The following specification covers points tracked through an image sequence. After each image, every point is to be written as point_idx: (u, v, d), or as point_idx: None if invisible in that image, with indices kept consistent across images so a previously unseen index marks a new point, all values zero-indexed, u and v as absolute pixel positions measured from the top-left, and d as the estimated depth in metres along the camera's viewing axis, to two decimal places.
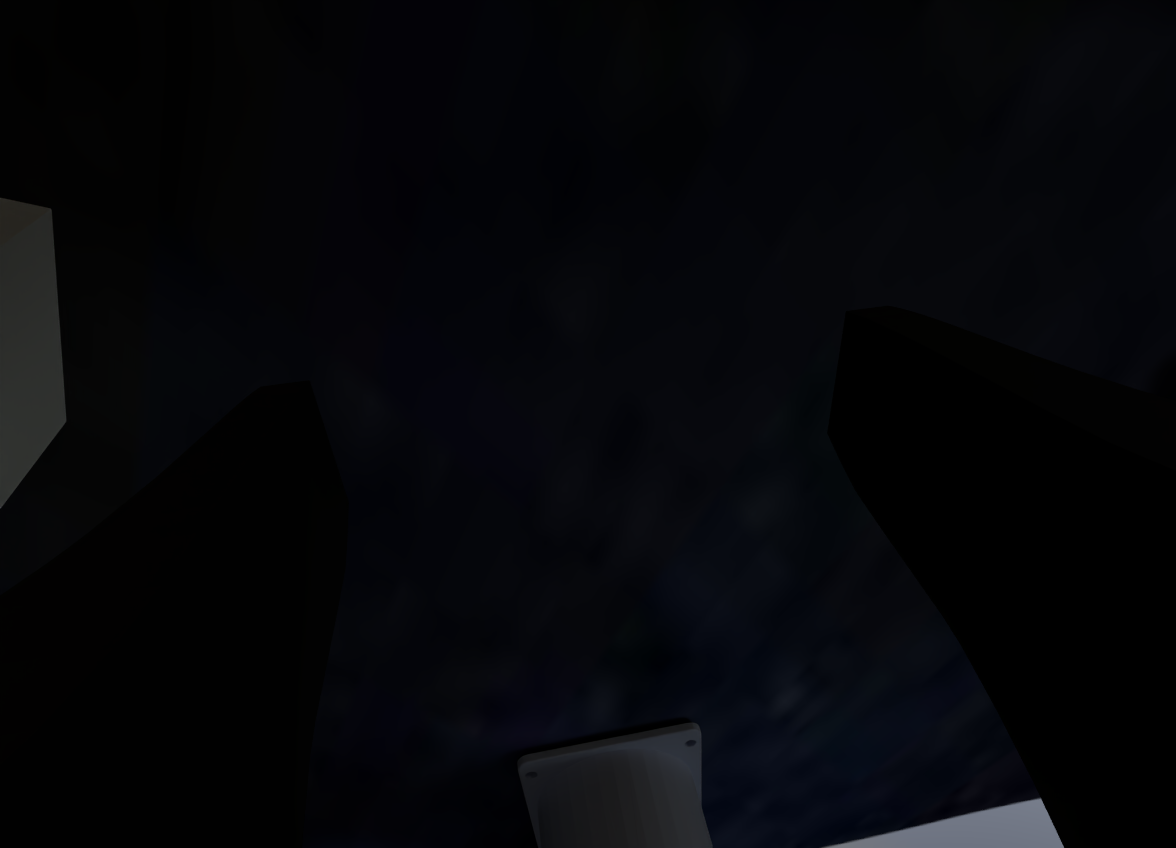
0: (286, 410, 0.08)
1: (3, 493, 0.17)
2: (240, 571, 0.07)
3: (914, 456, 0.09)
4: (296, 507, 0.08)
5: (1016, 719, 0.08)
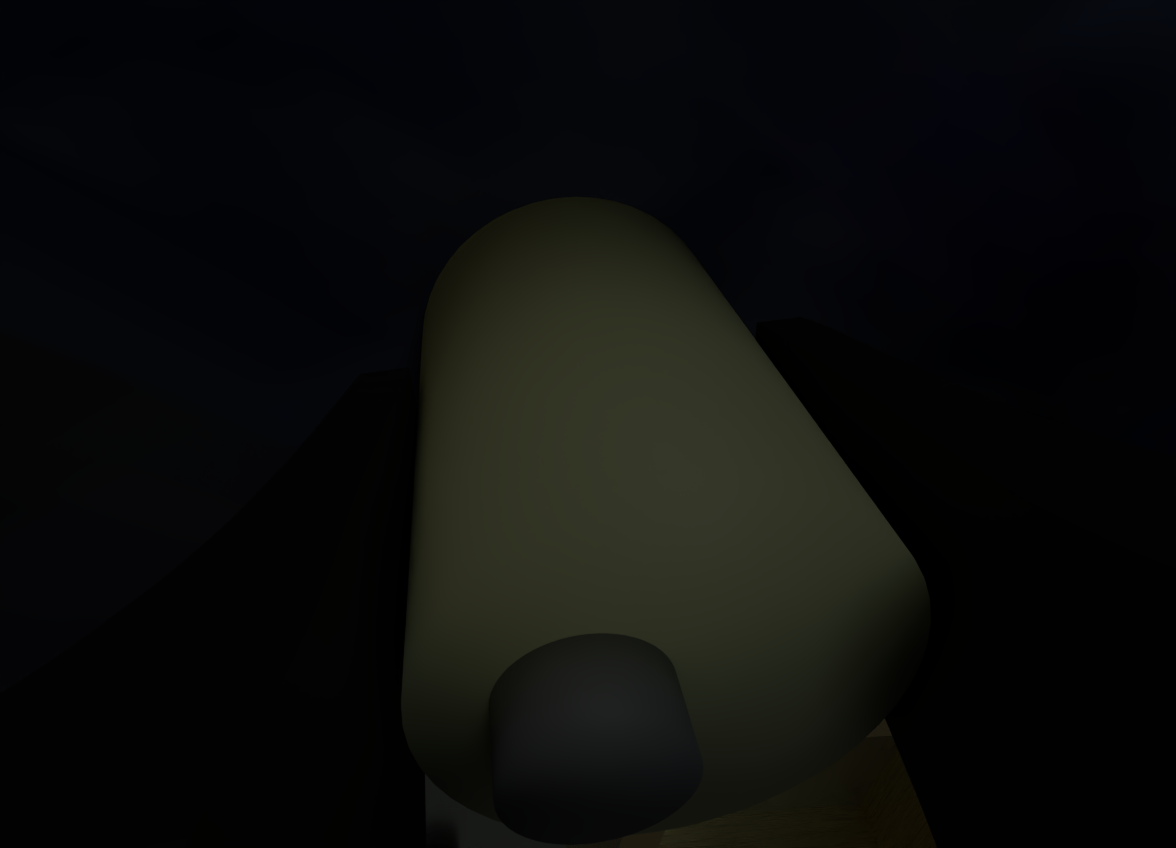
0: (398, 395, 0.08)
1: None
2: (376, 550, 0.07)
3: None
4: (407, 491, 0.08)
5: (905, 740, 0.08)
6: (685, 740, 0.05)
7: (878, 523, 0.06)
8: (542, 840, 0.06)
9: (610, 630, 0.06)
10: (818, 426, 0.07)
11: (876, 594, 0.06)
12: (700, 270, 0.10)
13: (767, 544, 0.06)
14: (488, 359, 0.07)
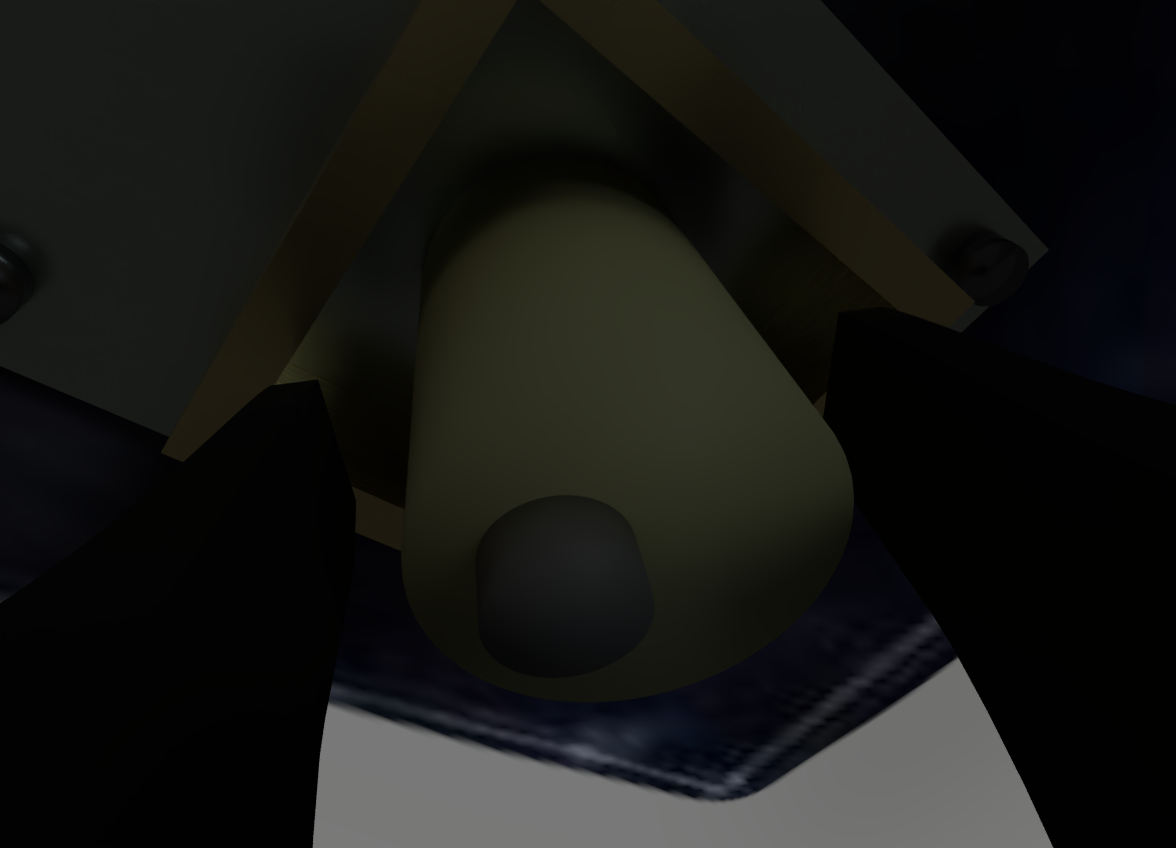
0: (296, 409, 0.08)
1: None
2: (252, 569, 0.07)
3: (905, 458, 0.09)
4: (306, 506, 0.08)
5: (1007, 720, 0.08)
6: (638, 575, 0.07)
7: (801, 399, 0.07)
8: (520, 671, 0.07)
9: (578, 492, 0.07)
10: None
11: (803, 468, 0.07)
12: (670, 220, 0.11)
13: (708, 415, 0.07)
14: (478, 283, 0.09)
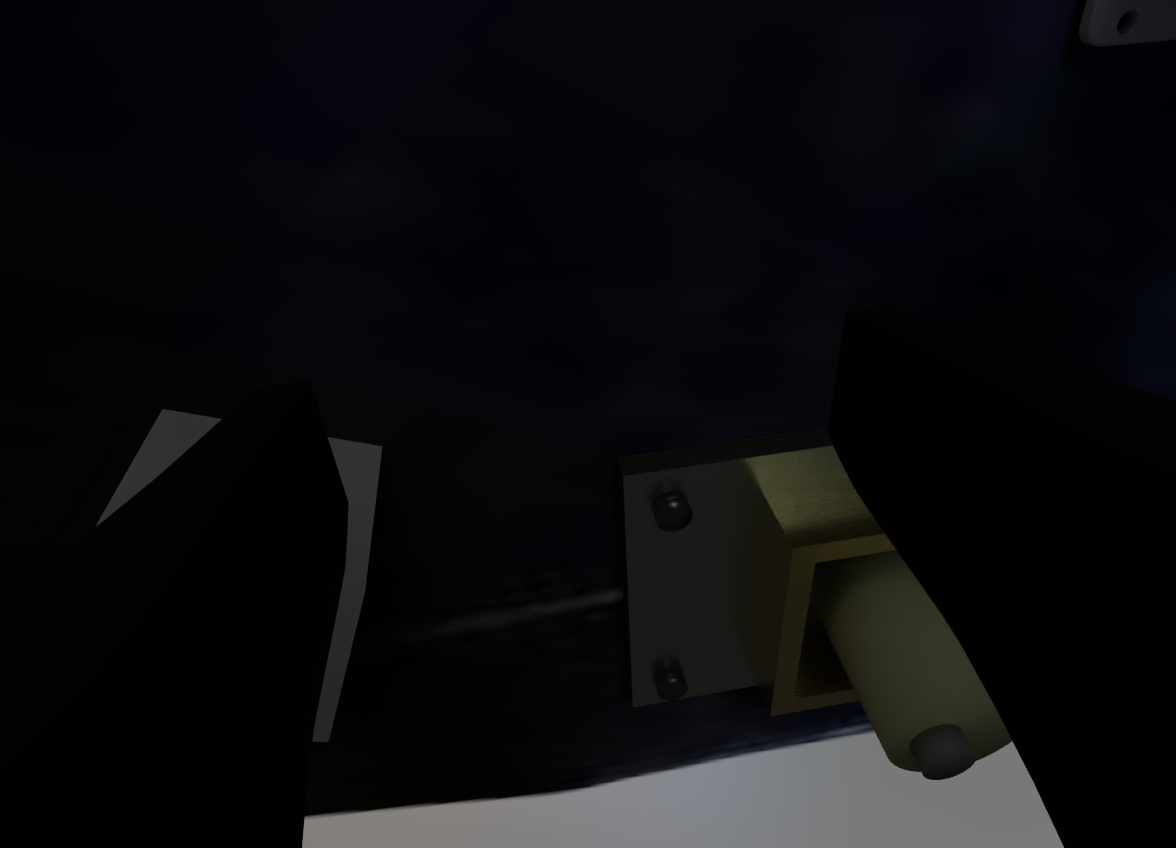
0: (286, 410, 0.08)
1: (363, 519, 0.20)
2: (240, 571, 0.07)
3: (914, 456, 0.09)
4: (296, 507, 0.08)
5: (1016, 719, 0.08)
6: (964, 749, 0.21)
7: None
8: None
9: (932, 726, 0.22)
10: None
11: None
12: None
13: (961, 697, 0.21)
14: (856, 645, 0.24)
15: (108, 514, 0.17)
